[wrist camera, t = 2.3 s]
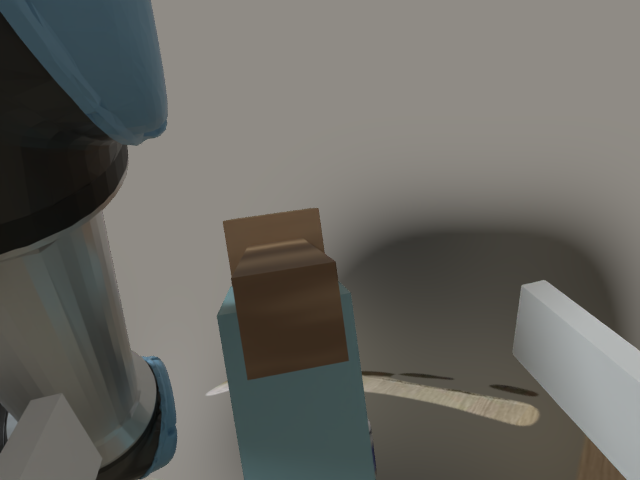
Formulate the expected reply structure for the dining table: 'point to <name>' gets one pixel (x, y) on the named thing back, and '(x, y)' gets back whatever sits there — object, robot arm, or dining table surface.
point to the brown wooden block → (285, 293)
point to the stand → (299, 412)
